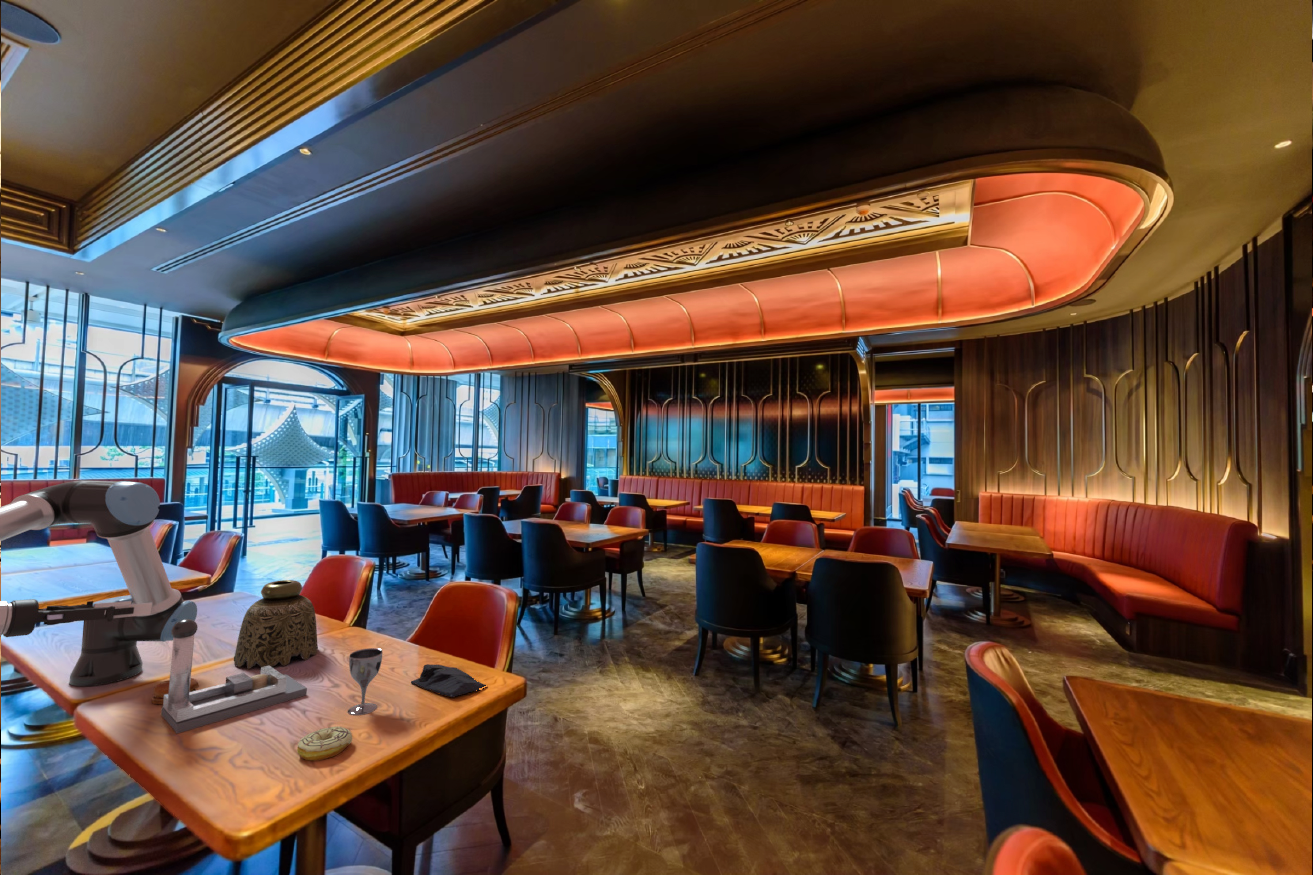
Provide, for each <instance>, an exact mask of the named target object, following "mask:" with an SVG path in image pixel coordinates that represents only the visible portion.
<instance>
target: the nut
mask: <svg viewBox="0 0 1313 875" xmlns="http://www.w3.org/2000/svg"><path fill="white" fill-rule="evenodd" d="M249 677H250V678H252V679H253V684H252V691H253V690H257V689H261V688H264V687H267V677H268V675H267V674H261V673H260V674H256V675H255V674H254V675H253V676H249Z"/></svg>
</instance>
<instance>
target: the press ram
mask: <svg viewBox="0 0 1313 875" xmlns="http://www.w3.org/2000/svg"><path fill="white" fill-rule="evenodd" d="M197 631H198V623H197V622H196V620H195V621H193V620H190V619H185V620H181V621H179V622H177V623H176V624H175V625H174V626H173V628H172V630H171V634H172V636H173V641H172V647H171V648H172V650H171V658H170V659H171V661H170V662H171V663H170V670H169V672H170V673H169V680H170V682H169V694H165V695H164V699H163V705H162V707H164V709H165V710H166V711H167V712H168V713H169V714H170V716H171V717H172V718H173V719H174V720H175V721H176V722H180V721H184V720H187V719H191V718H194V717H198V716H201V715H205V714H209V713H212V712H216V711H219V710H223V709H226V708H230V707H233V706H237V705H240V704H244V703H247V702H251V701H254V700H258V699H261V698H265V697H268V696H272V695H275V694H279V693H282V692H285V691H286V678H287V677H286V676H284V675H285V674H283V673H281V672H279V671H278V670H277V669H275V668H274V667H273V666H272V667H271V666H265V667H261V666H260V674H267V675H268V677H267V687H264V688H261V689H257V690H253V691H250V692H246V693H242V694H239V695H235V696H231V697H228V698H224V699H220V700H216V701H213V702H209V703H205V704H202V705H198V706H193V705H192V704H191V703H190V702H193V701H197V700H201V699H205V698H209V697H212V696H216V695H220V694H224V693H225V684H226V682H225V683H221V684H217V685H213V686H209V687H205V688H200V689H196V691H193V692H190V680H191V678H192V667H193V656H194V655H193V654H194V644H195V643H194V642H195V635H196V633H197Z"/></svg>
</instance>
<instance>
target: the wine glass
mask: <svg viewBox="0 0 1313 875" xmlns="http://www.w3.org/2000/svg"><path fill="white" fill-rule="evenodd" d="M348 660H349V661H348V665H349V667H348V668H349V673H350V676H351V678H352V680H354V681H355V682H356V683H357V684H358V685H359V687H360V689H361V690H360V692H361V700H360V703H359V704H356V705H353V706H351V707H350V708H349V709H347V714H348V715H350V716H363V715H368V714H370V713H372V712H374V711H376V710H377V709H378V705H377V704H376V703H373V702H365V701H366V692H367V688H368V686H369V684H371V682H372V681H373V680H374V678H376V677H377V675H378V674H379V672H380V669H381V666H382V660H383V650H382V649H381V648H375V647H374V648H373V647H372V648H361V649H358V650H355V651H353V652H351V653H350V654H349V658H348Z"/></svg>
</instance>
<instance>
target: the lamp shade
mask: <svg viewBox="0 0 1313 875" xmlns="http://www.w3.org/2000/svg"><path fill="white" fill-rule="evenodd" d="M302 585H303V584H301V582H300V581H297V580H294V579H293V580H292V579H284V580H283V579H281V580H276V581H271V582H267V583H266V584H264V586H263V587H262V589H261V591H260V594H261V596H262V598H260V599H258V600H257V601H255V602H253V604H251V605H250V606H249V608H248V609H247V610H246V612H245V613H244V616H243V619H242V622H241V625H240V628H239V632H238V633H239V634H238V639H237V642H236V647H235V652H234V656H233V662H234V666H237V667H239V668H241V667H243V666H244V665H245V663H246V666H247V667H246V668H247V669H248V670H250V669H251V668H253V667H255V666H256V664H257V665H258V666H259V667H260V668H261V667H265V666H271V667H272V668H273V667H274V666H276V665H277V664H279V663H280V664H281V666H283V667H285V666H287V665H288V664H290V662H291V658H292V657H298V656H299V655H300V656H301V659H302V660H304V661H307V660H308V659H309V658H310V656H311V655H313V656H316V655H317V653H318V649H319V646H318V630H317V617H316V610H315V607H314V605H313V602H312V600H310V599H309V598H308V597H306V596H304V595H301V593H302V591H303V586H302Z"/></svg>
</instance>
